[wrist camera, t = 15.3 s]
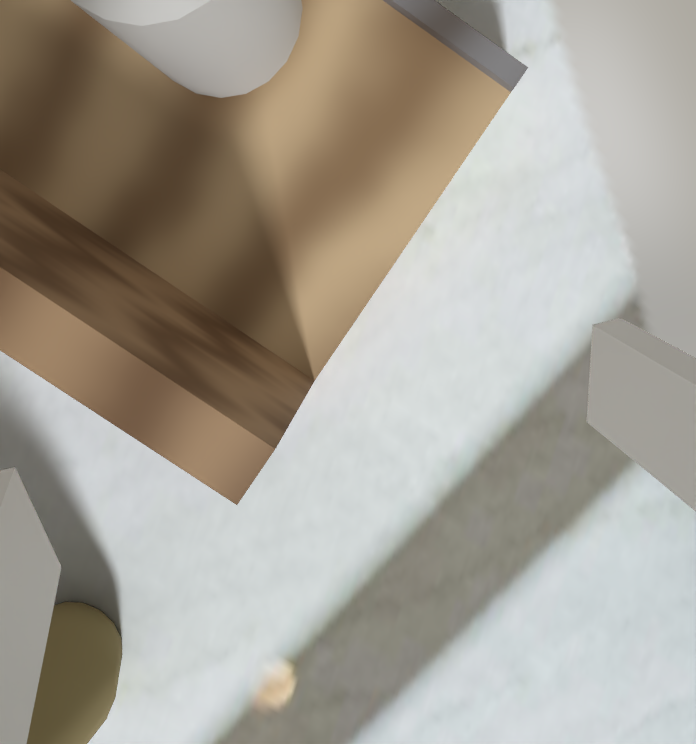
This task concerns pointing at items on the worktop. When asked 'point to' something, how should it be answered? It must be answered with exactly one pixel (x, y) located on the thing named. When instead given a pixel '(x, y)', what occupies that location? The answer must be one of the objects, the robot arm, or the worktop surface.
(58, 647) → the squeeze bottle
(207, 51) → the can
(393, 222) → the wooden l-shaped piece
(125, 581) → the worktop surface
